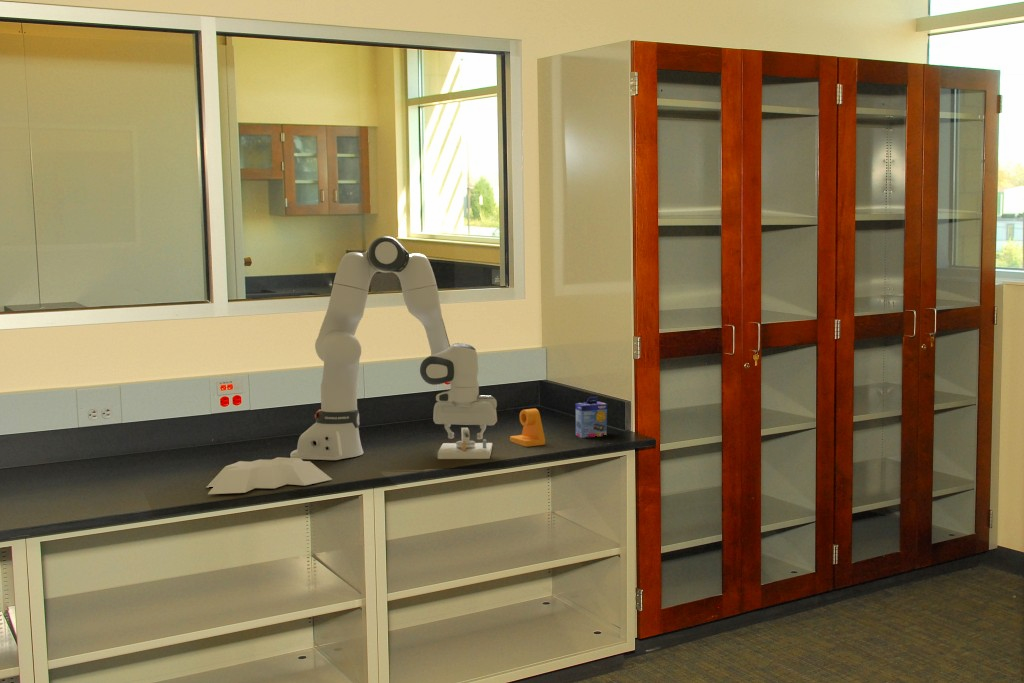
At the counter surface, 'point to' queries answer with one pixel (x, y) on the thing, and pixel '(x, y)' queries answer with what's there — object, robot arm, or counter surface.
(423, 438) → the counter surface
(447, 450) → the dial plate
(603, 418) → the ink cartridge box
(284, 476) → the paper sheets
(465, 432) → the knob
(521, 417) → the bracket
